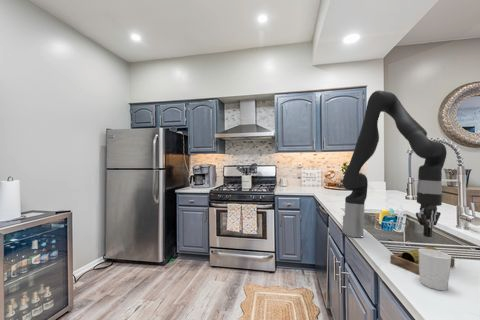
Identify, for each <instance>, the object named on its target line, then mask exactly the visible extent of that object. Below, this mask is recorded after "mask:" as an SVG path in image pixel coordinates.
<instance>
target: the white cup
mask: <svg viewBox="0 0 480 320" xmlns="http://www.w3.org/2000/svg"><path fill="white" fill-rule="evenodd" d="M418 249H419V248H418ZM451 258H452V255H449V254H447V253H445V252H444V251H443V252H442V251H439V250H438V251H436V250H431V249H419V273H420V275H419V282H420V283H421V284H422V285H424V286H426V287H427V288H430V289H433V290H437V291H447V290H448V288H449V280H450V276H451V275H450V273H451V268H450V265H451Z"/></svg>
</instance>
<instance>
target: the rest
mask: <svg viewBox="0 0 480 320" xmlns="http://www.w3.org/2000/svg"><path fill="white" fill-rule="evenodd" d="M401 253H402V252H400V253H399V252H398V253H394V254H390V261H389V262H390V264H392V265H395V266H397V267H400V268H402V269H405V270H406V271H409V272H411V273H414V274H417V275H419V276H420V273H419V264H416V263H413V262H411V261H408V260H405V259H403V258H401ZM455 262H456V260H455V258H453V257H451V265H450V269H452V268H454V267H455ZM453 266H454V267H453ZM451 267H452V268H451Z"/></svg>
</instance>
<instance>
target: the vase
mask: <svg viewBox="0 0 480 320" xmlns="http://www.w3.org/2000/svg"><path fill="white" fill-rule="evenodd" d="M419 249H431V250H436V251H439V249H437V248H435V247H433V246H429V245H428V246H424V247H419V248H416V249H411V250H407V251H406V250H405V251H402V252H400V253H401V258H403V259H405V260H408V261H411V262H413V263H416V264H419Z"/></svg>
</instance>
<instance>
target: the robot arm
mask: <svg viewBox="0 0 480 320" xmlns="http://www.w3.org/2000/svg"><path fill="white" fill-rule="evenodd" d="M381 112H382V113H386V114H387V115H389V116H390V117H391V118H392V119H393V120H394V123H395V126H396V128H397V130H398V132H399V133H400V134H401V135H402V136H403V137H404V139H405V140H407V142H408V144H409V145H410V148H411V149H412V151H413V153H414V154H416V156H418V157H419V158H421V159H424V164H423V165H420V166H419V167H418V175H417V176H418V177H417V184H416V203H417V204H419V205H420V206H419V207H420V208H419V212H415V216H416V219H417V221H418V224H419V225H420V226H422V227H423V236H424V237H426V238H432V237H433V228H434V226H436V225H437V224H438V222H439V219H440V216H441V212H440V211H438V207H440V206H442V205H443V204H442V201H443V185H442V183H443V182H442V178H443V176H442V175H443V174H442V173H443V172H442V170H443V168H444V164H445V163H446V158H447V148H446V146H445V144H443V142H440V141H434V140H431V139H429V138H428V132H427V131H426V129H425V128H424V127H423V126H422V125H421V124H419V123H418V122H417V121H416V120H415V119H414V118H413V117H412V116H411V114H410V113H409V112H408V110H407V109H406V108H405V107H404V106H403V104H402V103H401V101H400V100H399V98H398V97H397V95H396V94H395V93H394V92H390V91H385V90H376V91H374V92H372V93H371V94H370V95H369V98H368V101H367V104H366V108H365V113H364V118H363V122H362V125H361V127H360V128H361V129H360V130H359V135H358V138H357V139H356V142H355V147H354V150H353V153H352V156H351V157H350V162H349V164H348V166H347V168H346V171H345V173H344V175H343V177H342V178H343V179H342V186H343V188H344V189H345V190H347V191H351V193H350V194H349V195H346V197H345V198H344V199H345V203H344V215H342V234H343V235H345V236H348V237H350V238H355V237H361V236H363V237H364V231H365V230H364V228H365V203H366V200H367V197H368V196H367V195H368V194H367V193H368V186H369V185H368V183H369V182H368V178H367V176H366V175H365V174H364V173H361V169H362V167H363V166H364V165H365V164H366V162H368V161H369V159H371V158H372V157H373V155H374V154H375V152H376V149H377V148H378V144H379V142H380V134H379V133H380V132H379V127H378V126H379V125H378V124H379V118H380V116H381Z"/></svg>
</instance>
